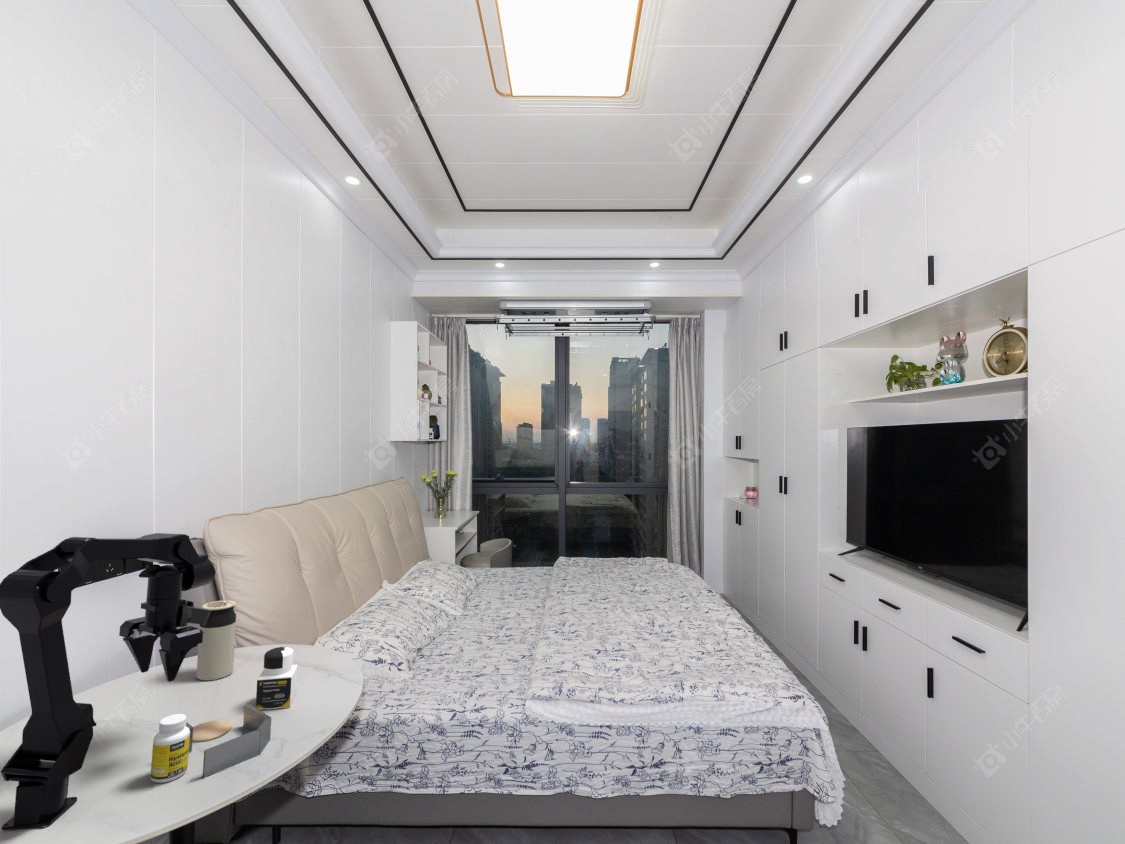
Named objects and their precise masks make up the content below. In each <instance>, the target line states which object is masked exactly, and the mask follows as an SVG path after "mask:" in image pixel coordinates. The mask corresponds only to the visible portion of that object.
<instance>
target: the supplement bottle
mask: <svg viewBox="0 0 1125 844" xmlns="http://www.w3.org/2000/svg"><path fill="white" fill-rule="evenodd" d="M187 719H188V717H187V715H186V714H183V713H175V714H170V715H167V716H165V717H164V718H162V719H161V720H159V727H158V732H157V733H156V734H155V735H154V736H153V742H152V751H151V753H152V754H151V765H150V766H151V767H150V768H151V769H150V780H151V781H152V782H153V783H168V782H172V781H175V780H177V779H178V778H180V777H182V776H183V775H185V774H186V772H187V770H188V765H189V740H190V730H189V728H188V727H186V726H185V725H186V722H187Z"/></svg>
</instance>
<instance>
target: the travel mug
mask: <svg viewBox="0 0 1125 844" xmlns="http://www.w3.org/2000/svg"><path fill="white" fill-rule="evenodd" d="M235 606H236V601H233V600H228V599H227V600H216V601H210V602H207V603H204V604H203V605H201V608H203V609H207V610H211V612H210V614H209V616H208V619H207V621H206V624H205V626H202V625H200V624H199V627H198V628H199V629H201V630H202V631H203V632H204V638H203V642H202V643H200V644H198V645H197V662H196V663H197V664H196V679H198V680H201V681H214V680H215V681H216V680H221V679H223V678H226V677H227V676H229V675H231V674H232V673H233V672H234V661H235V660H234V659H235V642H236V640H235V639H236V623H237V613H236V612H235V610H234V609H235Z"/></svg>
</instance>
